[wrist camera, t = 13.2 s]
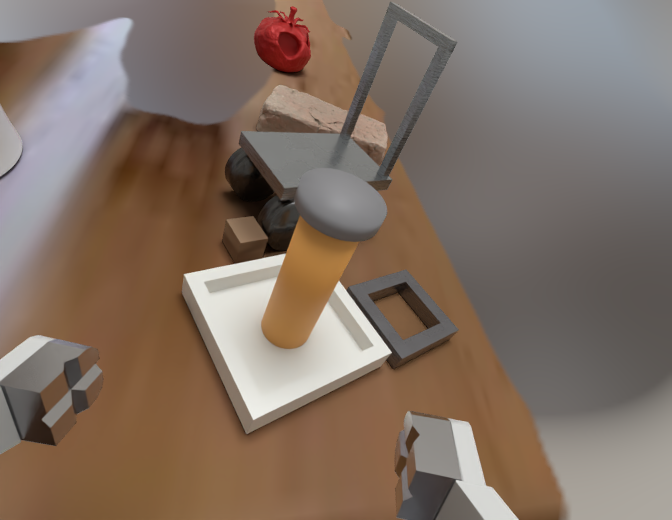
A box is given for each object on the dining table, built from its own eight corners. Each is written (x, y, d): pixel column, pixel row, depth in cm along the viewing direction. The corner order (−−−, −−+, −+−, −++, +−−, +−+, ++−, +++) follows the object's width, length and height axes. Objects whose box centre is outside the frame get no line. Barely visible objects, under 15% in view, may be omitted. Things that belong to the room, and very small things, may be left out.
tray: (246, 434, 22) (253, 420, 20) (181, 292, 27) (183, 274, 26) (380, 366, 28) (391, 352, 27) (307, 263, 34) (314, 247, 32)
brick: (254, 134, 47) (262, 98, 44) (268, 110, 54) (276, 77, 51) (374, 179, 50) (390, 148, 47) (375, 151, 56) (388, 122, 53)
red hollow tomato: (239, 52, 65) (248, -9, 59) (280, 53, 72) (291, -2, 66) (278, 79, 62) (291, 16, 56) (317, 76, 69) (332, 21, 63)
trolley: (261, 255, 32) (336, 10, 20) (221, 190, 37) (262, -44, 24) (371, 233, 40) (472, 48, 28) (328, 182, 44) (399, 3, 32)
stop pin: (264, 363, 25) (322, 228, 17) (244, 305, 27) (286, 165, 19) (327, 348, 27) (403, 225, 19) (303, 296, 30) (361, 169, 22)
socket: (393, 369, 29) (402, 358, 28) (342, 298, 32) (348, 286, 31) (449, 339, 33) (458, 329, 32) (399, 279, 36) (406, 269, 35)
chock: (235, 264, 31) (240, 243, 29) (222, 240, 32) (226, 219, 30) (261, 258, 32) (268, 238, 30) (248, 236, 33) (253, 216, 32)
